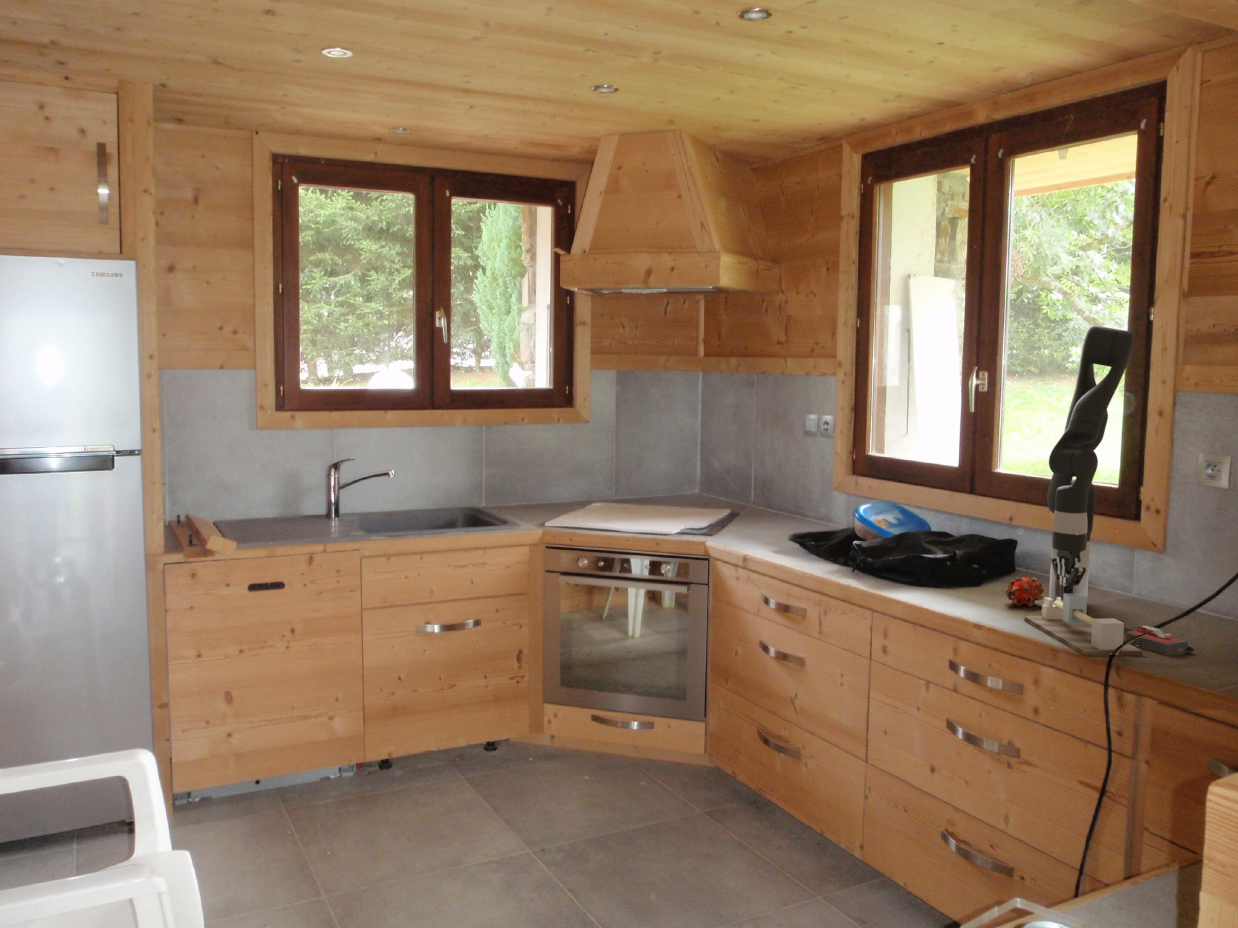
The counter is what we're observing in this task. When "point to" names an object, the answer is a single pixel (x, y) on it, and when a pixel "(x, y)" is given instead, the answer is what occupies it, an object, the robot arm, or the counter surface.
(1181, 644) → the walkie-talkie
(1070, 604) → the sleeve
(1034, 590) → the dragon fruit
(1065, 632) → the board
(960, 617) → the counter surface
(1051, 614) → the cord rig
